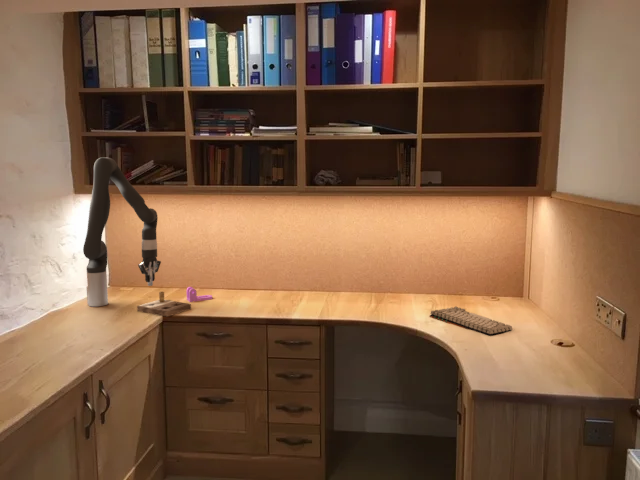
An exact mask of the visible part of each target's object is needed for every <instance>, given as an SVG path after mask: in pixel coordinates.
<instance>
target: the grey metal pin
mask: <svg viewBox="0 0 640 480" xmlns="http://www.w3.org/2000/svg"><path fill="white" fill-rule="evenodd" d="M147 269H148V268H147ZM152 271H153V270H152V268H151V270H150V274H149V275H150V282H147V286H149V287H151V286H153V285H154V283H153V282H154V281H153V276H152Z"/></svg>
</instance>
